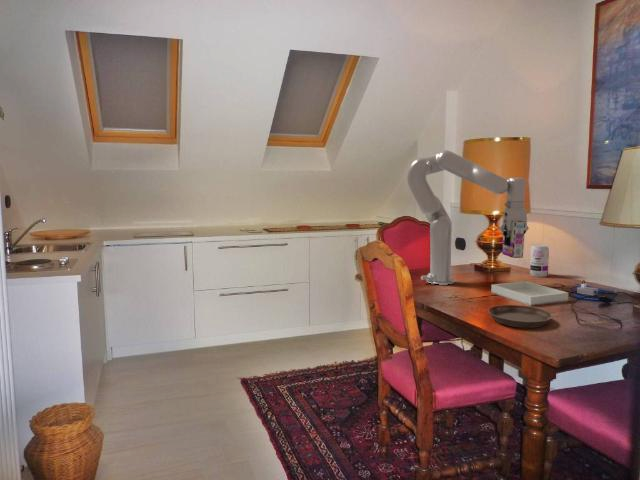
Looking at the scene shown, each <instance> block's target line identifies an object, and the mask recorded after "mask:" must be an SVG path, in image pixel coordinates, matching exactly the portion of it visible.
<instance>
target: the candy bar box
mask: <svg viewBox="0 0 640 480" xmlns="http://www.w3.org/2000/svg"><path fill="white" fill-rule="evenodd" d="M504 231H505V230H504ZM524 231H525V221H513V229H512V231H511V233H510V236H509V237H510V246H506V245H504V238H505V237H504V236H503V235H502V236H503V237H502V238H503V239H502V255H504V256H507V257H510V258H513V259H523V258H524V245H525V244H524V243H525V234H524ZM507 233H508V232H507Z"/></svg>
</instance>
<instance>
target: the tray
mask: <svg viewBox="0 0 640 480" xmlns="http://www.w3.org/2000/svg"><path fill="white" fill-rule="evenodd" d="M490 285H491V288H490V289H491V290H490V291H491V293H492V294H494V295H498V296H500V297H503V298H506V299H509V300H513V301H516V302H518V303H520V304H524V305H525V306H528V307H533V306H540V305H541V306H543V305H548V304H549V305H550V304H556V303H557V304H558V303H565V302H568V301H569V292H568V291H564V290H560V289H556V288H553V287H550V286H549V287H548V286H544V285H541V284H538V283H534V282H531V281H528V280H523V281H514V282H513V281H512V282H504V283H503V282H502V283H494V284H490Z"/></svg>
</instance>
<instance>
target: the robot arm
mask: <svg viewBox="0 0 640 480" xmlns="http://www.w3.org/2000/svg"><path fill="white" fill-rule="evenodd" d="M443 171H446V172H449V173H450V174H453V175H454V176H456V177H459V178H461V179H463V180H465V181H467V182H469V183H472V184H475V185H477V186H479V187H480V188H481V187H482V188H483V189H485V190H487V191H489V192H491V193H494V194H495V195H503V194H506V202H505V203H504V206H505V208H504V212H503V217H502V225H500V227H499V228H498V230H499V231H500V232H501V235H502V236H504V237H505V238H504V245H506V246H510V237H509V236H510V233H511V231H512V229H513V221H525V231H524V235H525V234H526V232H527V231H528V230H529V228H530V227H528V218H527V210H526V208H525V200H526V199H525V198H526V181H527V180H526V178H524V177H503V176H500V175H498V174H496V173H495V172H492V171H489V170H488V169H486V168H484V167H482V166H481V165H479V164H478V163H476V162H473V161H471V160H470V159H467V158H465V157H464V156H461V155H458V154H456V153H454V152H452V151H450V150H442V151H441V152H438V153H436V154H433V155H429V156H425V157H419V158H416V159H415V160H413V162H412V163H411V164H410V166H409V168H408V170H407V175H406V179H407V185H408V187H409V189H410V191H411V193H412V195H413V197H414V199H415V201H416V203H417V205H418V207H419V209H420V211H421V213H423V215H425V218H426V219H427V221H428V223H429V224H430V225H429V234H430V235H429V237H430V238H429V239H430V240H429V241H430V242H429V243H430V245H429V246H430V255H429V256H430V265H429V266H430V268H429V269H430V270H429V272H427V275H421V276H420V280H422V281H424V280H425V281H426V283H427V282H428V284H429V283H431V284H430V285H434V284H439V285H438V286H447V285H448V284H450V285H453V284H454V283H455V279H452V232H453V231H452V229H453V228H452V227H453V223H452V219H451V217H450V216H449V214H448V213H447V211H446V209H445V206H443V205H444V204H442V202H441V199H439V197H437V196H436V195H435V193H434V192H433V190H432V188H431V186H430V184H429V183H428V180H427V176H429V175H432V174H435V173H439V172H443ZM504 230H505V231H504ZM507 232H508V233H507Z"/></svg>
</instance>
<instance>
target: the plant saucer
mask: <svg viewBox="0 0 640 480" xmlns="http://www.w3.org/2000/svg"><path fill="white" fill-rule="evenodd" d="M488 313H489V315H490V316H491V317H492V319H493V320H495V321H496V322H497V323H499V324H502V325H505V326H509V327H513V328H521V329H522V328H523V329H524V328H525V329H526V328H527V329H529V328H530V329H531V328H532V329H533V328H539V327H543V326H544V325H547V324H548V323H549V322H550V321H551V320H552V318H553V315H552V314H551V313H550V312H548V311H546V310H544V309H541V308H537V307H533V306H528V305H516V304H513V305H512V304H504V305H503V304H502V305H496V306H492V307H490V308H489V309H488Z"/></svg>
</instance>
